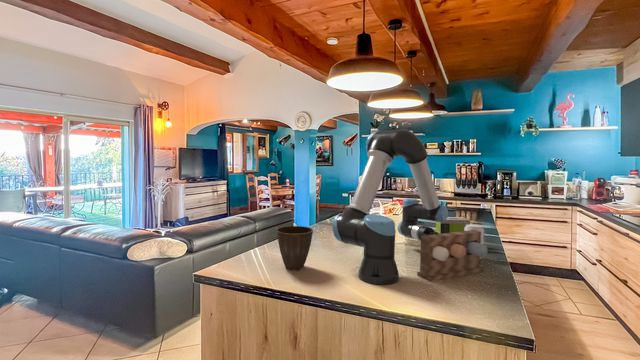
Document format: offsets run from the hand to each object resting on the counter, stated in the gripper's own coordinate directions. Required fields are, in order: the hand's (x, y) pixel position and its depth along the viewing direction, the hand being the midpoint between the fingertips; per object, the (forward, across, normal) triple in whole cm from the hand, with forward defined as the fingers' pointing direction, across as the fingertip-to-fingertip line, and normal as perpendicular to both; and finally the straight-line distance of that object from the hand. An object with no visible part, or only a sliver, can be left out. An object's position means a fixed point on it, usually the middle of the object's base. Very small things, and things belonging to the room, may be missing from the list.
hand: (463, 245), depth 138 cm
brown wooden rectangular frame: (+2, +9, -10) cm, 14 cm away
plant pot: (-30, +63, -10) cm, 71 cm away
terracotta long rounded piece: (+2, +9, -2) cm, 10 cm away
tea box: (-30, -26, -10) cm, 41 cm away
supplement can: (-10, -18, -10) cm, 23 cm away
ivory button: (+2, +18, -3) cm, 18 cm away
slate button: (+5, 0, -3) cm, 5 cm away
